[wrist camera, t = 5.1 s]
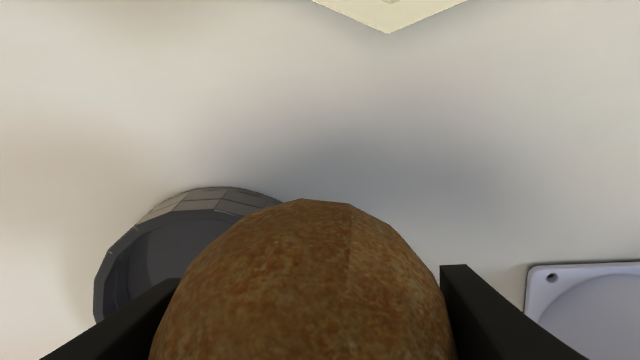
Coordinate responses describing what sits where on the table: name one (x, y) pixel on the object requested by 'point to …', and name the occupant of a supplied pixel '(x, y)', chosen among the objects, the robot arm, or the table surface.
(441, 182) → the table surface
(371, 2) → the dish with food
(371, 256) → the fruit
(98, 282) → the bowl
